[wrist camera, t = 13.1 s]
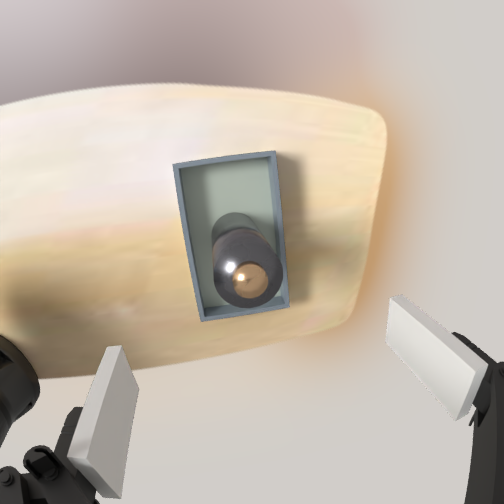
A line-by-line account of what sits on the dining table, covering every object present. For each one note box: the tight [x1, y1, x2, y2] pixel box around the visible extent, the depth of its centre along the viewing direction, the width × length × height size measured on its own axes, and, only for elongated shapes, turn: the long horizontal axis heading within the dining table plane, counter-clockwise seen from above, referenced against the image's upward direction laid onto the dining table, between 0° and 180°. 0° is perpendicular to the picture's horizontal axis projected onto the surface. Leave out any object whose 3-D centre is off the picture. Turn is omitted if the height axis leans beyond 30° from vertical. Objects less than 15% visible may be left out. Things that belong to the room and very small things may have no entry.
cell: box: [211, 212, 283, 308], centre depth 27 cm, size 5×5×13 cm
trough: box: [173, 151, 290, 322], centre depth 33 cm, size 10×17×3 cm, turn 7°
